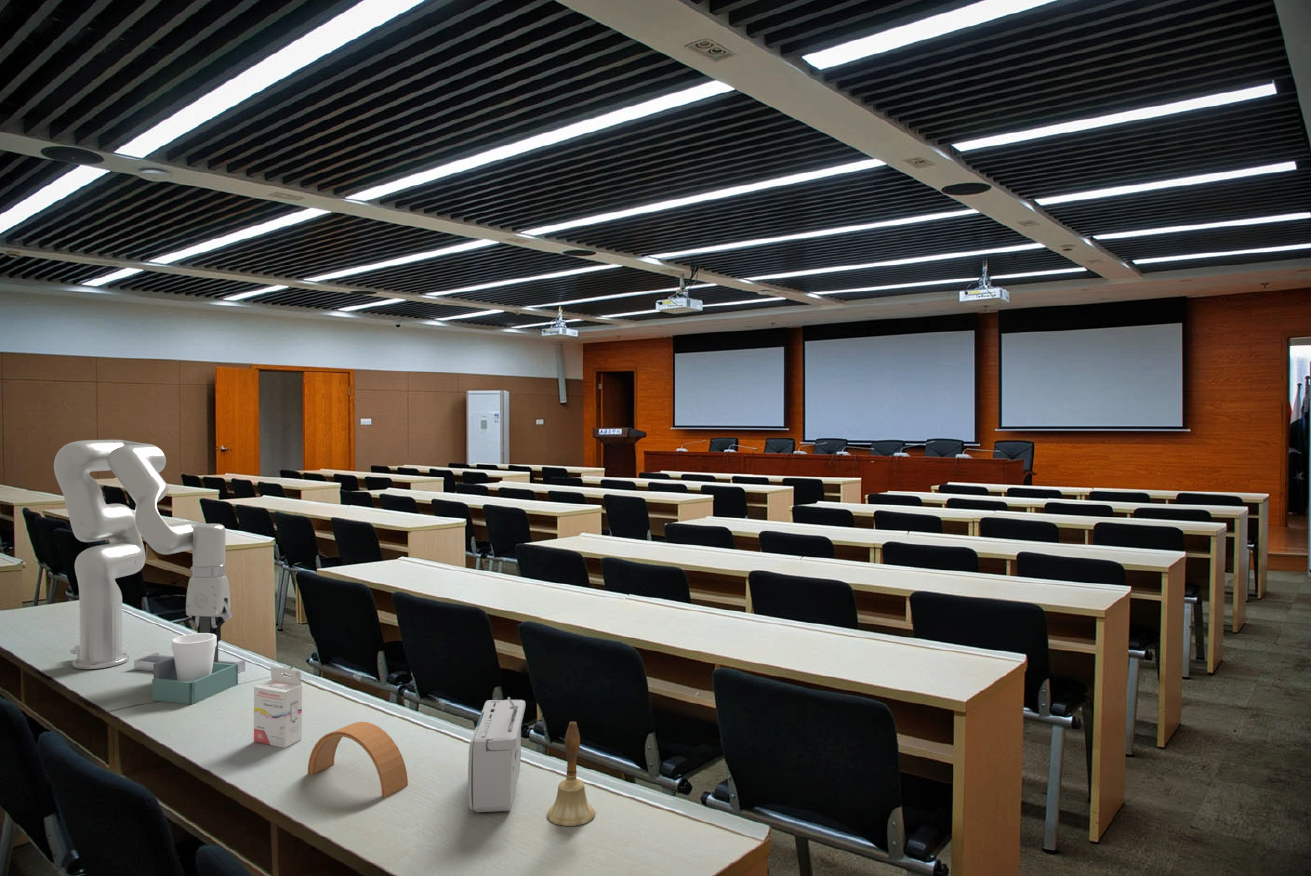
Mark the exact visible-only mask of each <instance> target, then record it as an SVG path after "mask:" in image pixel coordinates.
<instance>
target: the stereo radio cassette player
mask: <svg viewBox="0 0 1311 876" xmlns="http://www.w3.org/2000/svg"><path fill="white" fill-rule="evenodd" d="M525 710H526V701H525V700H523V699H511V697H510V696H508V697H507V699H503V700H501V699H500V700H499V699H491V700H490V699H489V700H488V699H487V700H486V701H485V703H484V705H483V708H482V710H481V713H480V715H479V719H478V721H477V724H476V726H475V729H474V732H473V734H472V736H471V740H470V743H469V748H468V763H467V765H468V766H467V792H468V793H467V794H468V805H469V808H470V810H472V811H474V812H475V813H478V814H479V813H486V812H487V813H491V812H509V811H511V809H512V806H513V800H514V795H515V791H516V786H517V783H518V782H517V781H518V777H519V772H520V767H521V757H522V756H521V755H522V752H521V751H522V747H521V745H522V741H521V740H522V723H523V719H524V714H525Z"/></svg>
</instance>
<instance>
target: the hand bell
mask: <svg viewBox="0 0 1311 876" xmlns="http://www.w3.org/2000/svg"><path fill="white" fill-rule="evenodd" d="M580 745H581V736H580V731H579V728H578V724H577V722H576V721H569V723H568V726H567V729H566V733H565V738H564V750H565V753H566V759H567V766H566V778H565V779H563V780H562V781H560V782H559V783H558V786H557V787H558V788H557V794H556V797H555V801H554V803H553V805H551V806H550V808H548V811H547V812H546V818H547V819H548V821H549V822H550V823H552V824H554V825H558V826H561V827H562V826H563V827H575V826H581V825H584V824H587V823H589V822H591V821H592V820H593V819H594V818H595V816H596V811H595V808H594V807H593V806H592V805H591V804H590V802H588V801H589V800H588V798H587V795H586V790H585V783H584V782H583V780H580V779H578V778H577V773H578V772H577V758H578V754H579V751H580Z"/></svg>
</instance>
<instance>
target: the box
mask: <svg viewBox="0 0 1311 876" xmlns="http://www.w3.org/2000/svg"><path fill="white" fill-rule="evenodd" d="M151 684H152V685H151V688H152V689H151V691H152V692H151V693H152V695H151V700H152V701H156V702H164V703H165V702H166V703H176V704H183V705H194V704H197V703H198V702H201V701H203V700H205V699H209V698H210V697H213V696H214V695H217V694H219V693H221V692H224V691H226V690H228V689H230V688H232V687H235V686H237V685H239V673H238V664H228V663H217V662H213V668H212V674H210V675H207V676H205V677H202V678H200V679H198V680H195V681H193V682H188V681H178V680H168V679H158V678H154V677H153V678H152V679H151Z"/></svg>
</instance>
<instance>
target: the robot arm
mask: <svg viewBox="0 0 1311 876" xmlns="http://www.w3.org/2000/svg"><path fill="white" fill-rule="evenodd" d="M166 464H167V459H166V456H165V453H164V451H163V450H162V449H161V448H159V446H157V445H154V444H151V443H143V442H138V441H137V442H136V441H131V440H124V439H88V440H87V439H86V440H85V439H84V440H76V441H72V442H69V443H67V444H65V445H64V446H62V447H61V448H60V449H59V450H58V451H57V453H56V455H55V457H54V462H53V471H54V476H55V478H56V482H57V483H58V486H59V488H60V490H61V492H62V495H63V498H64V503H65V506H66V511H67V514H68V518H69V522H70V523H69V524H70V527H71V530H72V533H73V535H74V537H75V538H76V539H77V540H78V541H80V542H83V543H92V542H98V541H105V540H108V541H109V543H107V544H100V545H94V546H91V547H89V548H86V549H85V550H83V551H81V552H80V553H79V554H78V555H77V556H76V558H75V561H74V571H75V576H76V580H77V586H78V597H79V598H78V599H79V644H76V645H75V646H74V647H73V648H71V649H70V654H72V655H76V659H74V660H73V661H72V667H73V668H75V669H78V670H96V669H97V670H99V669H103V668H110V667H114V666H119V665H121V664H125V663H126V662H127V661H128V662H129V660H130V654H128V653H127V652H124V651H123V595H122V591H121V589H120V587H119V585H118V584H117V582H116V579H118V578H122V577H123V578H124V577H126V576H127V577H128V576H131V575H134V574H137V573H138V572H140V571H141V570H142V569H143V567H144V566H145V564H146V557H147V556H146V550H145V545H144V543H143V539H144V540H145V542H146V543H147V545H148V546H149V547H150V548H151V549H152V550H153V551H155V552H156V553H158V554H161V555H172V554H176V553H181V552H187V551H191V550H192V566H191V567H189V568H190V571H191V572H192V576H191V577H189V579H188V584H187V585H188V586H187V591H186V599H185V600H186V601H185V615H186V616H188V618H190V619H192V621H193V623H194V627H196V628H197V629H196V631H197V632H196V633H200V616H203V617H211V623H212V628H210V633H211V634H215V635H216V636H217V642H218V643H219V642H220V641H221V640H222V626H224V623H225V622H226V621H228V620H230V619H231V618H233V613H232V611H231V594H230V593H231V591H230V584H229V580H228V579H229V578H228V576H226V528H225V526H224V525H223V524H221V523H204V522H200V521H193V520H191V521H183V522H176V523H170V524H167V522H166V521H165V519H164V518H163V517H162V516H161V514H160V512H159V510H158V507H157V503H158V502H160V501H161V500H162V499H164V498H165V496H167V494H168V493H169V489H170V488H169V485H168V483H167V482H166V481H165V480H164V478H163V477H162V475H160V473H161V472H162V471H163V470H164V469H165V467H166ZM104 471H106V472H108V471H111V472H112V474H113V475H114V476H115V477H116V478H117V480H118V482H119V483H120V484H121V485H122V487H123V488H124V489H125V490H126V492H127V493H128V495H129V496H130V497H131V498H132V500H133V501H134V503H135V510H134V511H133V510H132V509H131V508H130V507H129V506H128V505H126V504H122V503H109V504H107V503H106V501H105V498H104V495H103V490H102V488H101V485H100V484H99V483H98V481H97V480H96V479H95V478H94V477H92V476H91V475H90V473H91V472H92V473H93V472H104ZM142 538H143V539H142ZM217 618H218V620H217Z"/></svg>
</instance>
